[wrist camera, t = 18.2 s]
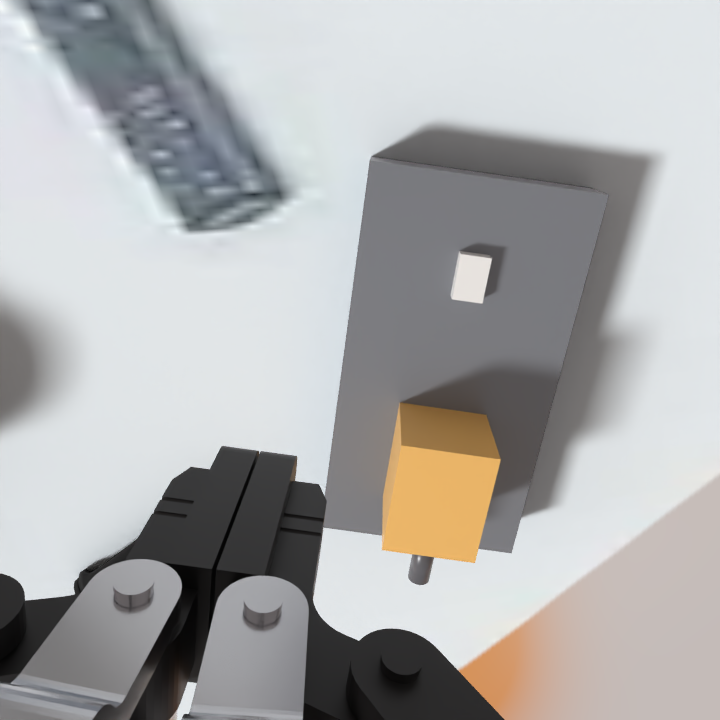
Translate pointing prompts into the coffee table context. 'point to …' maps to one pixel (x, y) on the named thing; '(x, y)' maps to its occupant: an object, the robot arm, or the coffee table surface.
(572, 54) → the coffee table surface
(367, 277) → the socket board
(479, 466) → the plug
